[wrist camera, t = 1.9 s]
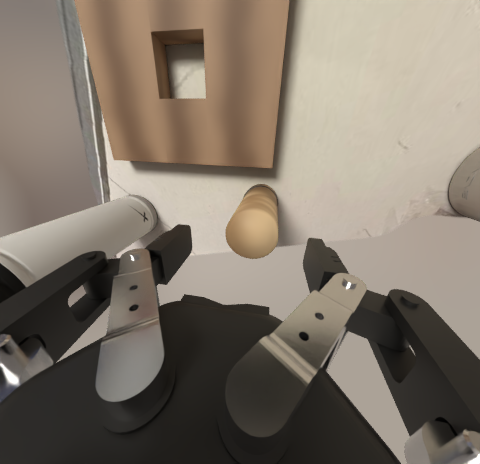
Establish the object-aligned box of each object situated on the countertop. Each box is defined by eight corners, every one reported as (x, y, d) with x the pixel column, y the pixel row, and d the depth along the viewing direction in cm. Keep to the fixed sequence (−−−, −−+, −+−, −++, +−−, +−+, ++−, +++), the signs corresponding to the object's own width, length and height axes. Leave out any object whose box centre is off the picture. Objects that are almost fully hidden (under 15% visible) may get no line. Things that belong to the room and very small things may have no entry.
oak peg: (279, 182, 23) (283, 212, 12) (275, 213, 25) (276, 262, 14) (247, 180, 24) (224, 207, 13) (245, 210, 26) (224, 256, 15)
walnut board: (296, -68, 15) (300, -106, 13) (272, 166, 23) (272, 168, 20) (85, -41, 18) (57, -68, 15) (128, 158, 25) (114, 159, 23)
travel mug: (161, 202, 27) (-52, 305, 9) (155, 237, 30) (-17, 366, 12) (123, 185, 27) (-165, 258, 9) (120, 222, 30) (-102, 330, 12)
